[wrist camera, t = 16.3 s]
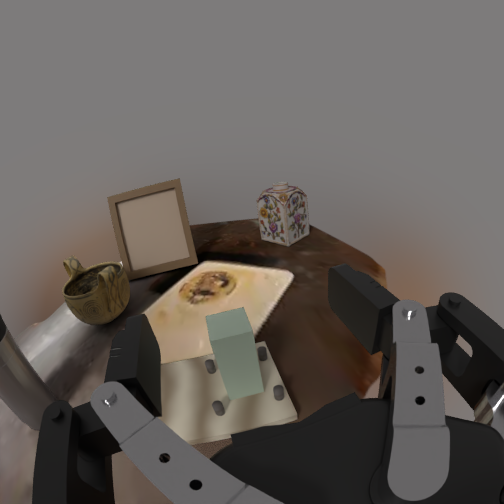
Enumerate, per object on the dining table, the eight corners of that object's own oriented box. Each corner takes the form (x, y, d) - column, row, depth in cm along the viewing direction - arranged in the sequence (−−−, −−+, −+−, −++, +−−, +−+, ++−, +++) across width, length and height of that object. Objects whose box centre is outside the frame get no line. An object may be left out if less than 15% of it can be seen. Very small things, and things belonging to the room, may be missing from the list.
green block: (229, 400, 35) (209, 341, 30) (224, 375, 39) (205, 316, 34) (264, 391, 36) (252, 330, 31) (255, 368, 40) (243, 307, 35)
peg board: (130, 450, 28) (118, 439, 27) (134, 374, 42) (126, 361, 41) (297, 419, 32) (297, 406, 30) (265, 347, 46) (263, 332, 45)
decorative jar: (288, 247, 82) (282, 188, 75) (260, 240, 90) (252, 186, 83) (311, 234, 89) (306, 180, 82) (283, 228, 97) (278, 178, 90)
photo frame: (198, 266, 79) (179, 180, 69) (128, 283, 75) (102, 201, 65) (195, 248, 92) (179, 175, 82) (134, 263, 88) (114, 192, 78)
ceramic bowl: (65, 321, 59) (42, 271, 53) (108, 290, 72) (91, 243, 66) (107, 350, 49) (76, 289, 42) (158, 307, 62) (139, 249, 56)
